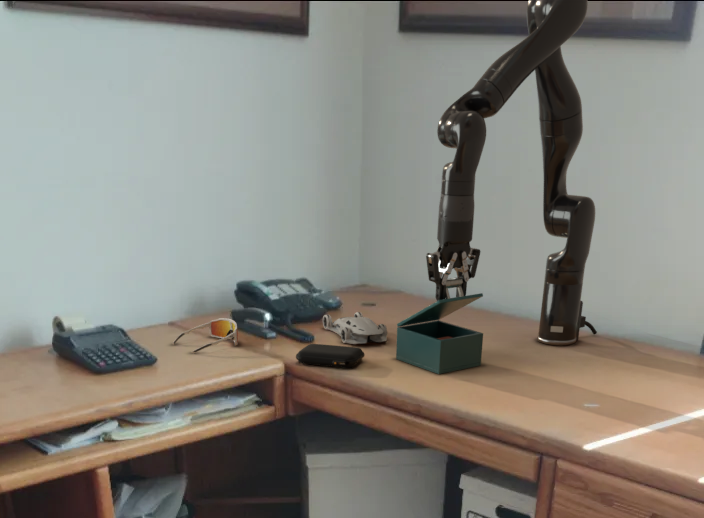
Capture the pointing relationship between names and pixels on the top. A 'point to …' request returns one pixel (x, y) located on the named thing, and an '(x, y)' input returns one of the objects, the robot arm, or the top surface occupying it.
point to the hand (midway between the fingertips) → (450, 300)
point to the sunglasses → (216, 331)
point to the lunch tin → (439, 346)
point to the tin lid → (442, 305)
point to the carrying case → (330, 355)
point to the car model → (356, 329)
